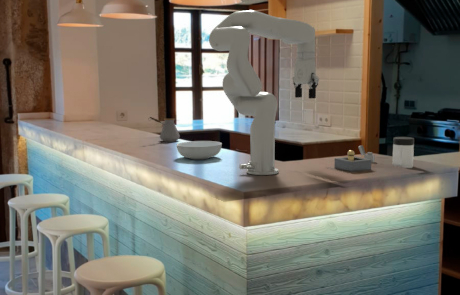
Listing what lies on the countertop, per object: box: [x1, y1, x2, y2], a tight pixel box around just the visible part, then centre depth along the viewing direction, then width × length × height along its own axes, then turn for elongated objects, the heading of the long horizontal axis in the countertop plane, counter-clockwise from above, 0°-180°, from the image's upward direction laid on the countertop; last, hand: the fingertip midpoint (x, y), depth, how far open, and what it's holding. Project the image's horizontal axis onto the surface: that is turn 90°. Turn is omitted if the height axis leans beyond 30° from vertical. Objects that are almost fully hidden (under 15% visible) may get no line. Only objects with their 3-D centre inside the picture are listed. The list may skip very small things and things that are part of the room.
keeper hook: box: [347, 149, 356, 161], centre depth 217 cm, size 3×3×7 cm
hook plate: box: [326, 166, 376, 174], centre depth 217 cm, size 14×14×1 cm
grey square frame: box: [333, 155, 372, 173], centre depth 216 cm, size 10×10×4 cm
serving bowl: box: [176, 140, 223, 161], centre depth 254 cm, size 21×21×7 cm
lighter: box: [358, 144, 376, 164], centre depth 234 cm, size 7×2×8 cm, turn 51°
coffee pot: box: [148, 116, 181, 143], centre depth 312 cm, size 21×12×15 cm, turn 142°
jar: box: [392, 136, 415, 169], centre depth 227 cm, size 9×8×12 cm
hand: (305, 97), depth 232 cm, fingers open, 9 cm apart
